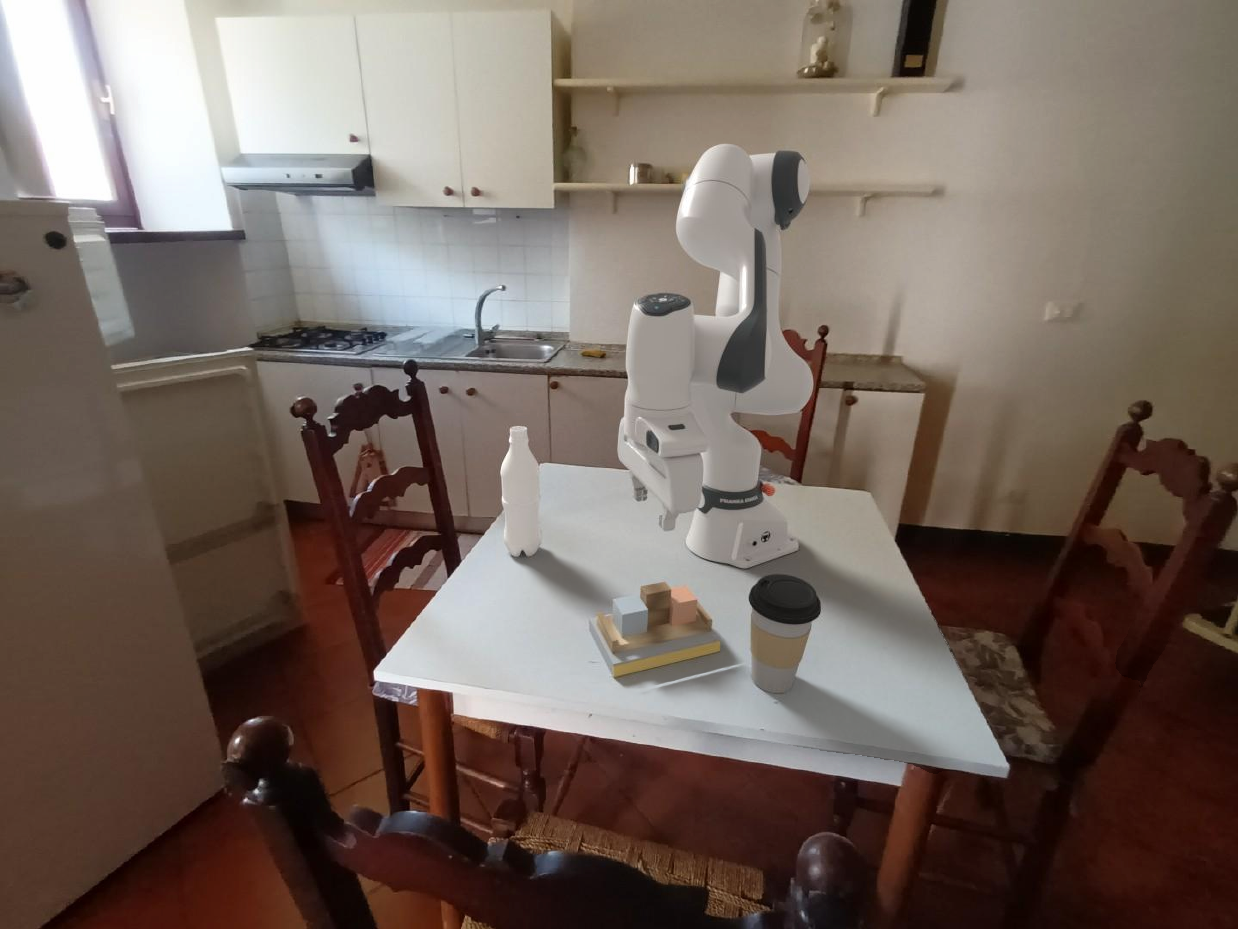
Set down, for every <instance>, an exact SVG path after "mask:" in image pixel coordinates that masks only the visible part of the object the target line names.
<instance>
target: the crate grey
mask: <svg viewBox="0 0 1238 929" xmlns="http://www.w3.org/2000/svg"><path fill="white" fill-rule="evenodd" d="M612 613H613V615H612V622H613V623H614V625H615V627H616V629H617V630H618V632H619V634H620V636H621V637H627V636H631V635H636V634H640V633H645V632H647V621H648V609H647V607H646V606H645V604H644V603H643V601H642V600H641V598H640V596H639V594H638V593H637V594H633V595H632V594H631V595H627V596H623V597H618V598H612Z"/></svg>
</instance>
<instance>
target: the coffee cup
mask: <svg viewBox="0 0 1238 929" xmlns="http://www.w3.org/2000/svg"><path fill="white" fill-rule="evenodd" d="M817 594H818V593H817V591H816V590H815V588H814V587H813V586H812V585H811V584H810V583H808V582H807V581H805V580H803V579H802V578H799V577H796V576H793V575H788V574H784V573H783V574H781V573H780V574H779V573H776V574H775V573H774V574H773V573H772V574H768V575H764V576H763V577H761V578H760V579H758V581H757V582H756V583H755V584H754V585H753V586H752V587H751V589H750V592H749V593H748V602H749V604H750V607H751V613H750V648H749V650H750V652H751V654H750V655H751V668H750V669H751V670H750V672H751V673H750V676H751V680H752V683H754V684H755V686H756V687H758V688H759V689H762V690H763V691H765V692H769V693H771V694H784V693H787V692H788V691H790V690H791V688H792V687H793V684H794V681H795V678H796V675H797V673H798V668H799V665H800V663H801V661H802V660H803V656H804V653H805V649H806V647H807V643H808V641H809V636H810V634H811V631H812V622H813V621H815V620H816V619H818V618H819V616H820V615H821V612H822V606H821V605H822V604H821V600H820V598H819V596H818V595H817Z"/></svg>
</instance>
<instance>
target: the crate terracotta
mask: <svg viewBox="0 0 1238 929" xmlns="http://www.w3.org/2000/svg"><path fill="white" fill-rule="evenodd" d="M670 588H671V604H670V618H669V624H670V625H671V626H676V625H681V624H686V623H690V622H695V621H696V611H697V601H698V598H697V596H695V594H694V593H693V592H692V590H691V589H690V588H689V587H688V586H687V584H683V585H678V586H673V587H670Z"/></svg>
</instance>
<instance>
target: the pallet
mask: <svg viewBox="0 0 1238 929" xmlns="http://www.w3.org/2000/svg"><path fill="white" fill-rule="evenodd" d="M671 588H672V587H671V586H669V584H668V583H667V582H666V581H661V582H657V583H656V582H655V583H651V584H645V585H641V586H640V592H639V594H640V596H639V597H640V598H641V600H642V601H643V603H644V604H645V606H646V607H647V609H648V621H647V632H645V633H640V634H636V635H631V636H627V637H621V636H620V634H619V632H618V630H617V629H616V627H615V625H614V623H613V622H612V615H610V616H606V617H605V616H604V615H605V614H604V613H603V612H602V611H599V612H597V613H596V617H597V626H598V628H599V630H600V632H601V634H602V636H603V637H604V639H605V641H606V643H607V645H608V647H609V649H610V651H611V652H612V654H613V653H618V652H622V651H627V650H631V649H635V648H640V647H644V646H648V645H653V644H657V643H662V642H666V641H670V640H675V639H679V638H683V637H688V636H692V635H696V634H701V633H705V632H710V631H711V629H713V618H712V617H711V615H710V614H709V613H708V611H706V609H705V608H704V607H703V606H702V605H701V604H700V602H699V601H698V600H697V611H696V621H695V622H690V623H686V624H681V625H676V626H671V625H670V624H669V618H670V604H671Z"/></svg>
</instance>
